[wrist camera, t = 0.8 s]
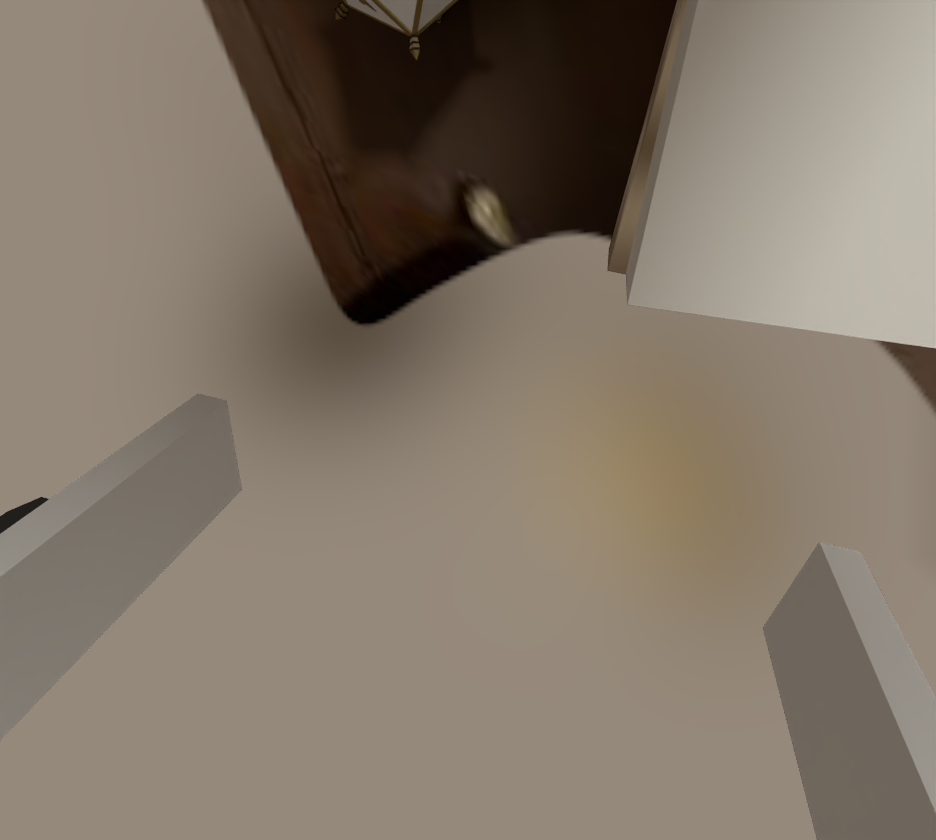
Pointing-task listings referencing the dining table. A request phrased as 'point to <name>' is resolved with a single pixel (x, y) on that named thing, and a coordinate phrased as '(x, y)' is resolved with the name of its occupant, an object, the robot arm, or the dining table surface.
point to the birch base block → (644, 153)
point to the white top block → (796, 169)
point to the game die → (400, 15)
